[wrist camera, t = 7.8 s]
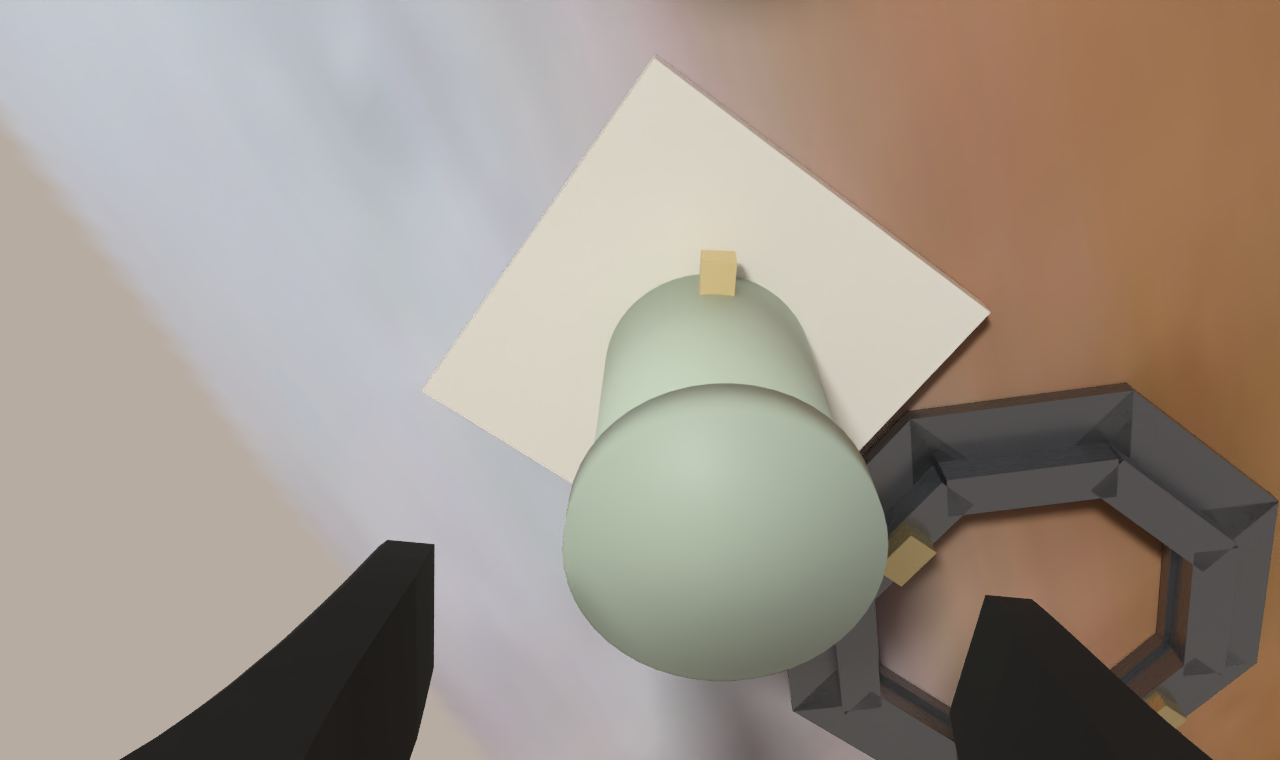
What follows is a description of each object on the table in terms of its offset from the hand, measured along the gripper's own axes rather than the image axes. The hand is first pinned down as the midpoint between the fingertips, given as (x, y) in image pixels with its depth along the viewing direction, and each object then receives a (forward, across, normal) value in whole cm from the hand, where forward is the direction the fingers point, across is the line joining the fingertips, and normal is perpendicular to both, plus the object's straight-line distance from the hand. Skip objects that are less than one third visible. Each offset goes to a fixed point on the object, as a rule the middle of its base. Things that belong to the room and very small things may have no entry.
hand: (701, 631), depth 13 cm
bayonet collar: (+10, -9, +7) cm, 16 cm away
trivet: (+10, 0, 0) cm, 10 cm away
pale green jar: (+10, -1, +1) cm, 10 cm away
